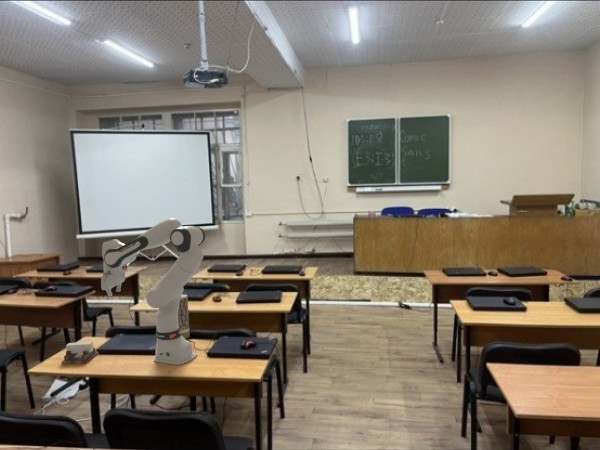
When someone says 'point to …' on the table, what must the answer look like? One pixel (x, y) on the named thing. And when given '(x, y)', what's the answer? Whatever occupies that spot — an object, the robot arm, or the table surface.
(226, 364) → the table surface
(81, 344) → the grey strip
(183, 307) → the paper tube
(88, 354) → the drying rack
